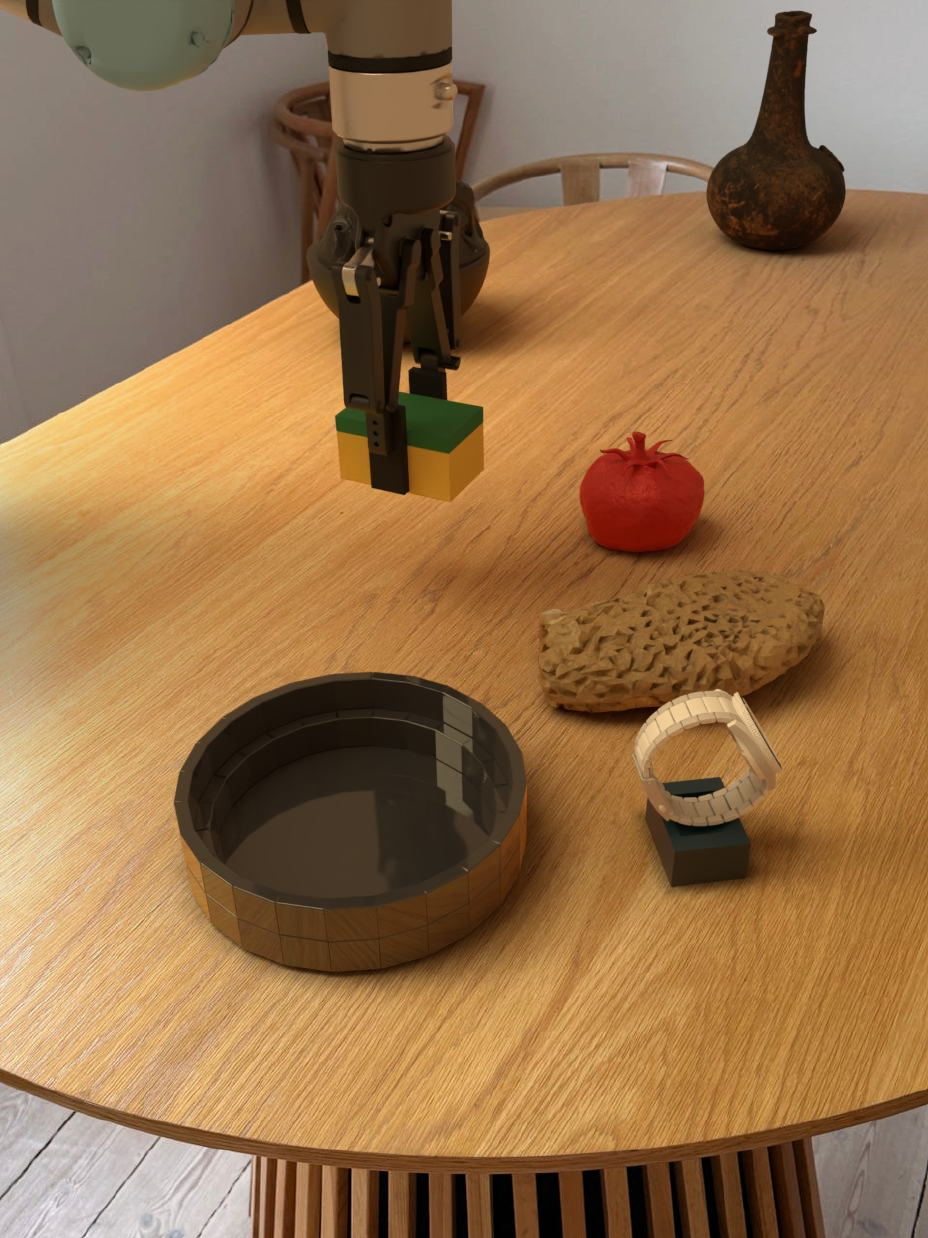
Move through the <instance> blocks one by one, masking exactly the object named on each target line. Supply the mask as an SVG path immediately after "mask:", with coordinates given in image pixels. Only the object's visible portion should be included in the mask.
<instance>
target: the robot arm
mask: <svg viewBox="0 0 928 1238" xmlns="http://www.w3.org/2000/svg"><path fill="white" fill-rule="evenodd" d="M0 10H3V11H6V12H7V13H10V14H12V15H15V16H16V17H19V18H21V19H23V20H26V21H27V22H30V23H32V24H34V25H37V26H39V27H41V28H44V29H46V30H48V31H49V32H51V33H54V34H56V35H58V36H60V37H61V38H63V39H64V42H65V43H66V45H67V46H68V47H69V49H70V50H71V51H72V53H73V54H74V55H75V56H76V58H77V59H78V60H79V61H80V62H81V63H82V64H83V65H84V66H85V67H86V68H87V69H88V70H89V71H90V72H92V73H93V74H94V75H95V76H96V77H97V78H100V79H101V80H103V81H105V82H107V83H108V84H111V85H113V86H115V87H118V88H119V89H124V90H128V91H133V92H156V91H162V90H165V89H168V88H171V87H173V86H177V85H178V84H181V83H182V82H185V81H188V80H192V79H194V78H195V77H197V76H200V75H201V74H203V73H205V72H206V71H207V70H208V69H209V67H210V66H211V65H213V64H214V63H216V61H217V60H218V58H219V56H220V55H221V53H222V51H223V50H224V49H225V48H227V47H228V46H230V45H231V44H233V43H234V42H236V40H237V39H238V38H240V37H241V36H257V35H259V36H260V35H281V34H282V35H283V34H298V35H311V34H313V33H315V34H317V33H323V34H324V35H325V40H326V41H325V42H326V45H327V63H328V78H329V79H328V80H329V97H330V112H331V129H332V132H334V133H335V134H336V135H337V136H338V137H340V138H341V139H340V140H339V141H338V143H337V145H335V147H334V157H335V158H334V159H335V171H336V182H337V183H336V184H337V196H338V199H339V201H340V202H342V203H343V204H344V205H345V206H346V207H348V208H350V209H351V210H352V211H353V212H354V213H355V214H356V216H357V218H358V222H357V233H356V239H355V250H356V253H355V254H354V256H353V257H352V258H351V260H350V261H349V262H348V263H346V262H339V261H336V262H334V264H333V265H332V269H331V276H332V280H333V284H334V287H335V291H336V294H337V298H338V309H339V319H338V323H339V340H340V342H339V343H340V358H341V359H340V360H341V375H342V377H341V378H342V391H343V392H342V393H343V405H344V408H350V409H355V410H360V411H365V414H366V426H367V439H368V440H367V441H368V449H369V462H370V476H371V485H370V488H371V489H375V490H379V491H384V492H387V493H392V494H397V495H401V496H406V495H407V494H409V493H408V492H409V491H410V489H409V470H408V450H407V431H406V430H407V427H406V407H405V406H403V405H398V397H399V392H400V385H401V384H400V383H401V371H402V361H403V349H404V343H403V338H404V326H405V318H406V322H407V327H408V332H409V337H410V341H411V342H410V345H411V350H412V355H413V361H414V363H415V364H416V365H420V367H417V366H412V367H411V368H410V369H408V371H407V373H408V389H409V390H408V393H410V394H416V395H421V396H427V397H432V398H438V399H443V400H448V377H447V376H448V374H447V372H446V370H449V371H450V370H451V371H458V370H459V368H460V366H461V362H462V358H461V356H457V355H452V353H453V352H460V350H461V349H462V345H463V330H462V329H463V328H462V317H461V302H460V277H459V252H458V245H459V236H460V227H461V215H460V213H458V212H450V211H441V210H439V208H441V207H443V206H445V205H447V204H448V203H450V202H451V201H452V200H453V198H454V196H455V194H456V179H457V175H456V174H457V173H456V172H457V171H456V170H457V169H456V168H457V167H456V165H457V164H456V144H455V142H454V141H453V140H452V138H451V137H450V136H448V135H447V134H448V133H450V131H452V129H453V128H454V126H455V123H454V122H455V119H454V118H455V117H454V101H455V99H456V98H457V97H458V87H457V85H456V84H455V83H454V75H453V0H0ZM441 244H442V245H441ZM379 289H382V290H389V291H396V292H398V294H391V293H385V292H379Z"/></svg>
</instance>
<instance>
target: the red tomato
mask: <svg viewBox="0 0 928 1238" xmlns="http://www.w3.org/2000/svg"><path fill="white" fill-rule="evenodd" d="M646 438H647V434H646V433H643V432H640V431H632V433H631V437H626V442H627V443H628V446H629V449H628V450H622V449H620V448H618V447H613V448H608V449H599V452H600V453H601V454H603V455H601V456H599V457H598V458H597V459H595V460H594V462H593V463H592V464H591V465H590V466H589V467H588V469H587V470H586V471H585V474H584V476H583V478H582V480H581V483H580V486H579V492H578V493H579V505H580V508H581V512H582V515H583V517H584V518H585V522H586V525H587V530H588V533H589V535H590V536H591V537H592V538H593V540H594V541H595V542H596V544H598V545H600V546H601V547H603V548H605V549H608V550H612V551H621V552H631V553H644V552H653V551H654V552H657V551H658V552H659V551H664V550H668V549H670V548H673V547H675V546H677V545H679V544H680V543H681V542H682V541H683V540H685V538H686V537H687V536H688V535H689V533H690V531H692V529H693V528H694V526H695V524H696V523H697V521H698V519H699V517H700V515H701V512H702V509H703V505H704V501H705V480H704V477H703V475H702V473H701V472H700V471H699V470H697V469H696V468H695V466H694V465H693V464H692V463H691V462H690V461H689V460H690V458H688V457H685V456H683V455H682V454H680V453H676V452H662V451H658V450H659V449H660V447H661V446H662V445H663V444H666V443H668V442H673V439H663V440H660V441H658V442H656V443H655V444H653V445H651V446H650V447H649V448H648V449H646Z"/></svg>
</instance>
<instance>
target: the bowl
mask: <svg viewBox="0 0 928 1238" xmlns="http://www.w3.org/2000/svg"><path fill="white" fill-rule="evenodd" d="M176 781H177V782H176V787H175V793H174V797H173V809H174V814H175V817H176V823H177V827H178V834H179V838H180V842H181V847H182V853H183V858H184V862H185V867H186V871H187V877H188V881H189V886H190V891H191V894H192V896H193V898H194V899H195V901H196V902H197V904H198V905H199V907H200V909H201V910H202V912H203V913H204V914H205V916H206V918H207V919H208V921H209V922H210V923H211V925H212V926H214V927H215V928H216V929H217V930H219V931H220V932H221V933H223V934H224V935H225V936H227V937H228V938H229V939H230V940H231V941H233V942H234V943H235V944H237V945H238V946H239V947H240V948H242V949H244V950H246V951H249V952H251V953H254V954H255V955H258V956H261V957H263V958H266V959H268V960H270V961H273V962H275V963H278V964H281V965H284V966H288V967H294V968H295V967H297V968H302V969H310V970H316V971H324V972H330V973H332V972H333V973H334V972H335V973H336V972H348V971H349V972H351V971H352V972H353V971H365V970H379V969H385V968H389V967H392V966H397V965H400V964H403V963H404V964H405V963H407V962H411V961H414V960H419V959H421V958H426V957H428V956H430V955H433V954H434V953H436V952H438V951H440V950H441V949H443V948H445V947H447V946H449V945H451V944H453V943H454V942H456V941H459V940H460V939H462V938H464V937H466V936H468V935H469V934H470V933H472V932H473V931H475V929H476V928H477V927H478V926H479V925H481V924H482V923H483V922H484V921H485V920H486V919H487V918H488V917H490V915H492V914H493V913H494V912H496V910H497V909H498V908H500V906H501V905H502V903H503V901H504V900H505V898H506V897H507V895H508V893H509V892H510V890H511V889H512V888H513V885H514V884H515V881H516V880H517V879H518V877H519V875H520V872H521V868H522V863H523V858H524V855H525V849H526V845H527V823H528V822H527V821H528V820H527V817H528V816H527V815H528V811H527V810H528V778H527V771H526V767H525V760H524V754H523V751H522V749H521V748H520V746H519V744H518V743H517V740H516V739H515V738H514V736H513V734H512V733H511V731H510V729H509V728H508V725H507V724H506V723H505V722H503V721H502V720H501V719H500V718H499V716H497V715H496V714H495V713H493V712H492V710H490V709H489V708H488V707H487V706H486V705H485V704H483V702H482V703H481V701H478V700H476V699H475V698H474V697H473V698H472V697H471V696H469V695H467V694H465V693H464V692H462V691H459V690H457V689H456V688H454V687H452V686H450V685H448V684H444V683H440V682H436V681H434V680H430V679H426V678H423V677H420V676H416V675H409V674H400V673H391V672H381V671H360V672H359V671H357V672H356V671H355V672H342V673H341V672H339V673H329V674H325V675H320V676H316V677H315V676H314V677H310V678H307V679H301V680H296V681H292V682H289V683H287V684H284V685H281V686H279V687H276V688H273V689H271V690H268V691H266V692H263V693H261V694H258V695H256V696H254V697H252V698H250V699H248V700H247V701H246V702H244V703H242V704H240V705H239V706H237V707H235V708H234V709H233V710H231V711H230V712H228V713H226V714H224V715H223V716H222V717H221V718H219V719H218V721H216V722H215V724H214V725H212V726H211V727H210V728H209V729H208V730H207V731H206V732H205V733H204V734H203V735H202V736H201V737H200V738H199V739H198V740H197V741H196V742H195V744H194V745H193V747H192V749H191V750H190V752H189V754H188V756H187V758H186V759H185V761H184V762H183V765H182V766H181V768H180V770H179V771H178V776H177V780H176Z"/></svg>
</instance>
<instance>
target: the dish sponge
mask: <svg viewBox="0 0 928 1238" xmlns="http://www.w3.org/2000/svg"><path fill="white" fill-rule="evenodd" d="M398 405H403V406H405V407H406V427H407V430H406V431H407V450H408V470H409V489H410V491H409V492H408V493H407V494H410V495H415V496H420V497H424V498H429V499H433V500H439V501H443V502H447V503H452V502H453V501H454V500H455V499H456V498H457V497H458V496H459V495H460V494H461V493H462V492H463V491H464V490H465V489H466V488H467V487H468V486H469V485H470V484H471V483H472V482H473V481H474V480H475V479H476V478H477V477H478V476H479V475H480V474H481V473H482V472H483V471H484V470H485V452H484V451H485V448H484V447H485V446H484V444H485V443H484V441H485V440H484V406H481V405H476V404H470V403H465V402H459V401H455V400H454V401H453V400H449V399H447V400H443V399H438V398H432V397H427V396H421V395H416V394H410V393H409V392H404V391H399V397H398ZM334 419H335V430H336V440H337V451H338V452H337V453H338V461H339V474H340V479H342V480H345V481H350V482H355V483H360V484H365V485H368V486H371V476H370V462H369V449H368V441H367V440H368V439H367V426H366V414H365V411H360V410H355V409H350V408H346V407H344V408H343V409H342V410H341V411H338V413H337V414H335V415H334Z"/></svg>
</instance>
